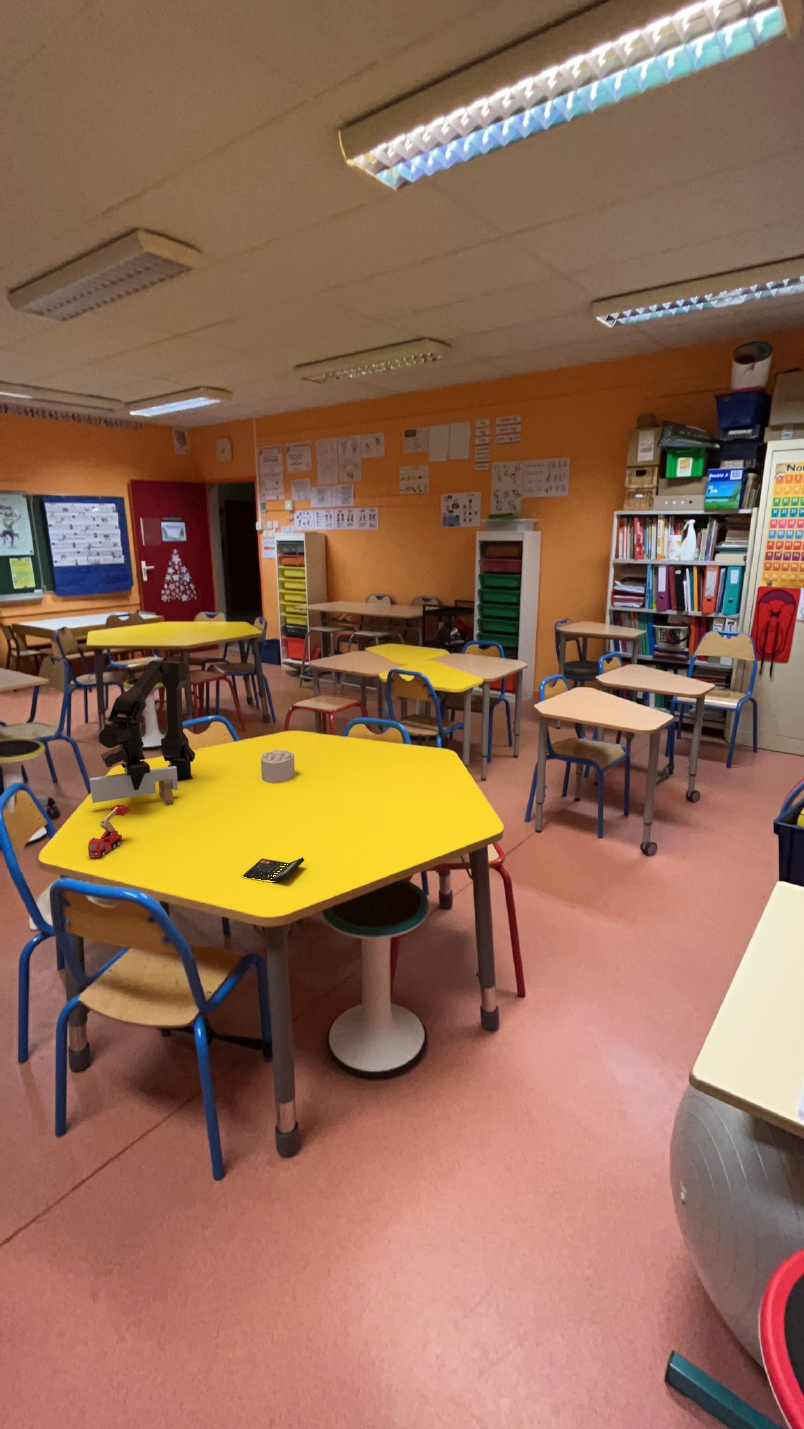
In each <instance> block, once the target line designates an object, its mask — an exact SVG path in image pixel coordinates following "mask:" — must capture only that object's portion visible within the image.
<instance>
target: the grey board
mask: <svg viewBox="0 0 804 1429" xmlns="http://www.w3.org/2000/svg"><path fill="white" fill-rule="evenodd" d="M168 779H170V781H171V782H172V791H174V790H175V791H176V790H179V783H178V782H179V781H177V768H176V766H171V767H168V766H165V767H158V768H152V769H151V768H150V773H146V774H145V775H144V777H143V779H142V782H141V784H140V787H139V789H138V790H134V787H133V783H132V780H131V777H130V776H127V774H126V773H125V772H124V773H117V774H112V775H111V774H109V775H104V776H103V775H102V776H96V777H90V778H89V783H90V784H89V785H90V794H91V802H92V804H95V803H103V802H108V801H113V800H115V801H116V800H121V799H126V798H133V797H138V796H145V795H150V794H156V793H157V788H156V782H158V781H163V780H168Z"/></svg>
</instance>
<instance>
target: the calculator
mask: <svg viewBox="0 0 804 1429" xmlns="http://www.w3.org/2000/svg"><path fill="white" fill-rule="evenodd" d="M303 862H305V859H304V857H300V858H298V859H296V860H293V861H290V862H285V861H280V860H273V859H266V858H261V859H260V860H259V861H257V862H256V863H255V864H253V865H252V867H251V868H249V869H248V870H246V872H245V873H243V874H242V877H243V876H244V877H247V878H255V879H261V880H270V881H277V882H280V881H283V880H285V879H288V878H289V877H290V876H291V875H292V874H293V873H294V872H295V870H296V869H298V868H299V867H300V866H301V865H302V863H303ZM284 864H286V865H284ZM287 864H288V865H287ZM280 866H285V867H280ZM280 869H282V870H280ZM277 871H280V872H277ZM274 873H278V874H274ZM268 875H269V876H268ZM271 875H272V876H271ZM273 875H276V876H274V877H273ZM247 878H246V879H247ZM271 878H272V879H271Z"/></svg>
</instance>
